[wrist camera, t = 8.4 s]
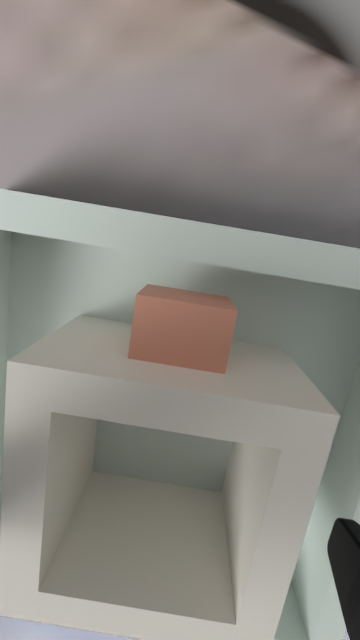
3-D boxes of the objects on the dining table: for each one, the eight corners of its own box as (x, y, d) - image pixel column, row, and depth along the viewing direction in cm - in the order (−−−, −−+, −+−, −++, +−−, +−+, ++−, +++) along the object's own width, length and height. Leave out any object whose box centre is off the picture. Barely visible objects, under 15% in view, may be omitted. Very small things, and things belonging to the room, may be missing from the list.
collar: (294, 302, 11) (362, 342, 7) (242, 518, 13) (267, 661, 8) (83, 267, 11) (9, 284, 7) (64, 488, 13) (-3, 615, 9)
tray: (303, 584, 14) (331, 671, 12) (-14, 530, 15) (-66, 602, 12) (405, 261, 11) (480, 268, 8) (-3, 193, 11) (-72, 176, 8)
